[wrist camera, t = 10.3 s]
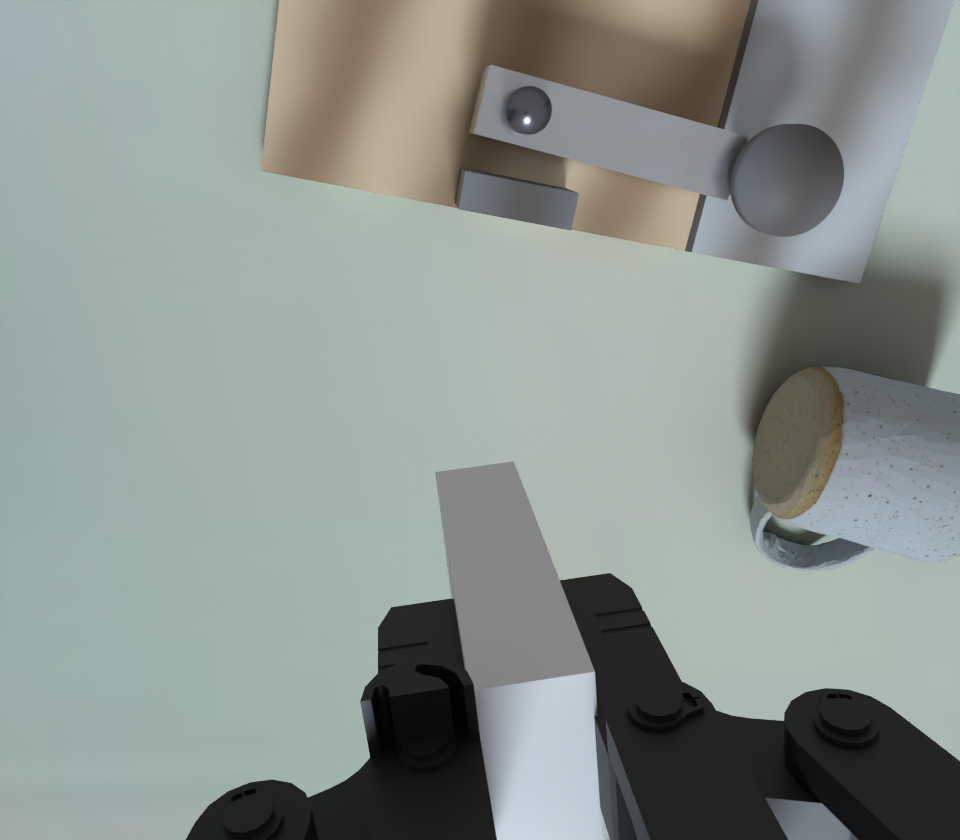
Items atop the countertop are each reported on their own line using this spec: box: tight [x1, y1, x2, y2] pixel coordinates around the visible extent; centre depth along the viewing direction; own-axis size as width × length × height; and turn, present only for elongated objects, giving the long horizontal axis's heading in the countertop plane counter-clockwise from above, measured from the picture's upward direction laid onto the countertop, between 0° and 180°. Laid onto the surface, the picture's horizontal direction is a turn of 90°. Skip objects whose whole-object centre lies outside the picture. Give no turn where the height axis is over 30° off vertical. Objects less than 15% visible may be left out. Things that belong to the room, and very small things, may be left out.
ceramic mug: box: [750, 366, 960, 571], centre depth 38 cm, size 11×8×8 cm
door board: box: [261, 0, 954, 284], centre depth 32 cm, size 26×15×6 cm, turn 79°
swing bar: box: [469, 65, 749, 200], centre depth 32 cm, size 10×2×4 cm, turn 76°
